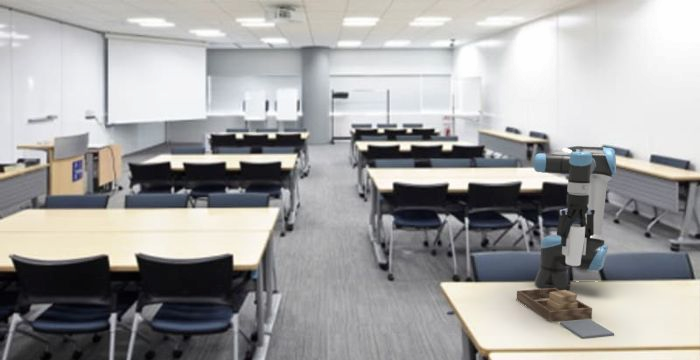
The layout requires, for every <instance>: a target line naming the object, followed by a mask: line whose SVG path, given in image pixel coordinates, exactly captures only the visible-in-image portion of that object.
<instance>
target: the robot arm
mask: <svg viewBox="0 0 700 360" xmlns="http://www.w3.org/2000/svg"><path fill="white" fill-rule="evenodd" d="M533 159H534V160H533V169H534V171H535V172H537V173H543V174H544V173H545V174H559V175H560V174H561V175H568V180H567V190H566V191H567V194H566V207H565V208H564V209H562V208H561V209H558V223H557V228H556V234H552V235H547V236H545V237H543V238H542V239H541V244H540V261H539V270H538V272H537V275H536V276H535V279H534V285H536V286H537V288H538V287H539V288H538V289H540V288H541V289H546V288H556V289H558V290H560V291H561V290H567V291H570V290H571V289H570V288H571V287H572V282H571V280H570V276H569V272H568V270H569V268H568V267H570V268H577V269H583V270H588V271H598V272H599V271H601V270H602V268H604V264H605V262H606V258H607V254H608V248H609V247H608V246H609V245H608V244H605V241H606V240H605V239H604V238H603V237H602V233H603V232H602V231H603V224H604V215H605V208H606V207H605V206H606V204H605V203H606V197H607V187H608V182H610V181H611V180H612V179H613V176H614V175H615V176H616V174H617V157H616V151H615V149H614V148H611V147H605V146H602V147H601V146H582V145H581V146H579V145H577V146H569V147H564V148H561V149H558V150H557V151H556V152H553V153H545V152H544V153H536V154H535V156H534V158H533ZM576 220H578V222H579V223H578V224H580V227H584V226H585V239H584V245H583V250H582V256H581V264H580V265H579V266H570V265H567V264H566V263H565V259H566V256H568V248H569V238H567V237H568V234H569V232H570V227H571V226H572V224H574V222H575V221H576ZM536 286H535V287H536Z"/></svg>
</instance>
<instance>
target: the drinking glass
mask: <svg viewBox="0 0 700 360" xmlns="http://www.w3.org/2000/svg"><path fill="white" fill-rule="evenodd" d="M567 238H569V248H568V256H566V259H565V263H566V264H567V265H570V266H579V265H580V264H581V256H582V250H583V245H584V239H585V226H584V227H580V223H573V224H572V226H571V227H570V232H569V234H568V237H567Z"/></svg>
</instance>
